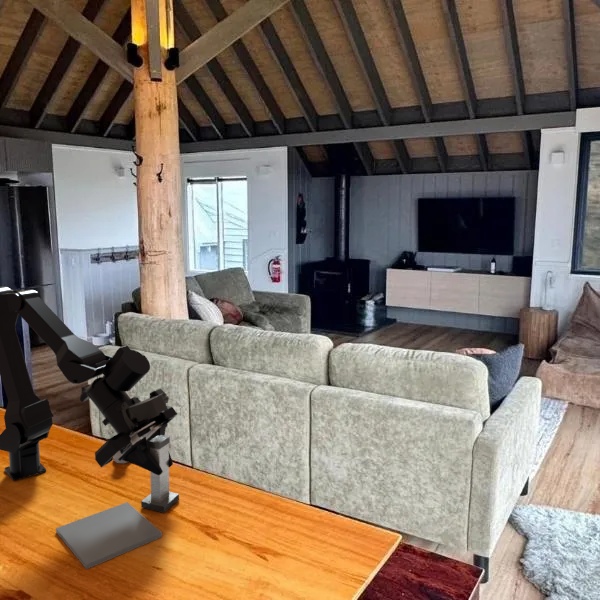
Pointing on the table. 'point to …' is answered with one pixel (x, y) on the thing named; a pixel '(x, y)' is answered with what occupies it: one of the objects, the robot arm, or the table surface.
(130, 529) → the plate
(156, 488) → the tray topped pillar
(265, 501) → the table surface
